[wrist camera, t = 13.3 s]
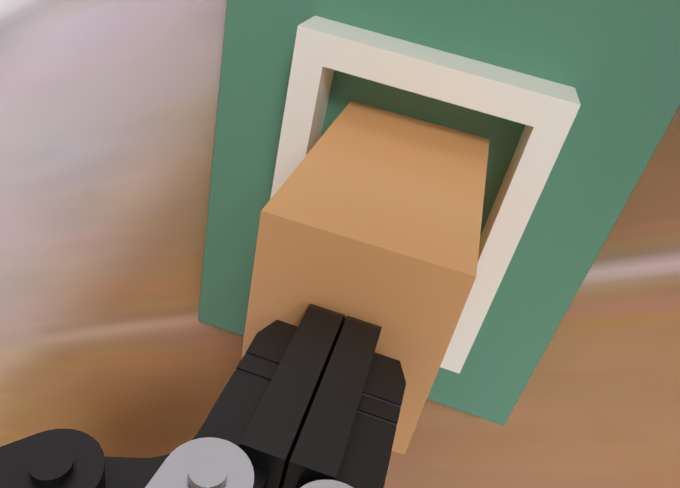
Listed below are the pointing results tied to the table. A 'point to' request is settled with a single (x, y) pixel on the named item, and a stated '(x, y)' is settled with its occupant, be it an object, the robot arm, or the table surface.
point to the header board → (463, 115)
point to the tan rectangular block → (377, 240)
